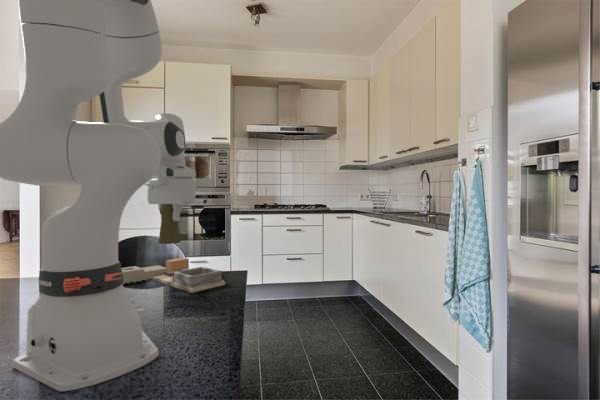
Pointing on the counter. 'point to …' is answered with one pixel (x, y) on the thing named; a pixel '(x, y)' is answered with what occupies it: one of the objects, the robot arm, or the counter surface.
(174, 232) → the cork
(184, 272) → the rail panel
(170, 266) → the block
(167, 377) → the counter surface
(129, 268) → the electrical outlet
